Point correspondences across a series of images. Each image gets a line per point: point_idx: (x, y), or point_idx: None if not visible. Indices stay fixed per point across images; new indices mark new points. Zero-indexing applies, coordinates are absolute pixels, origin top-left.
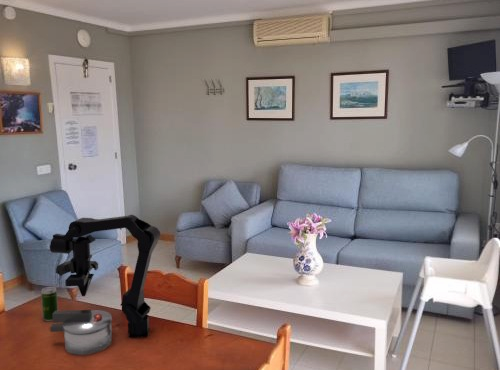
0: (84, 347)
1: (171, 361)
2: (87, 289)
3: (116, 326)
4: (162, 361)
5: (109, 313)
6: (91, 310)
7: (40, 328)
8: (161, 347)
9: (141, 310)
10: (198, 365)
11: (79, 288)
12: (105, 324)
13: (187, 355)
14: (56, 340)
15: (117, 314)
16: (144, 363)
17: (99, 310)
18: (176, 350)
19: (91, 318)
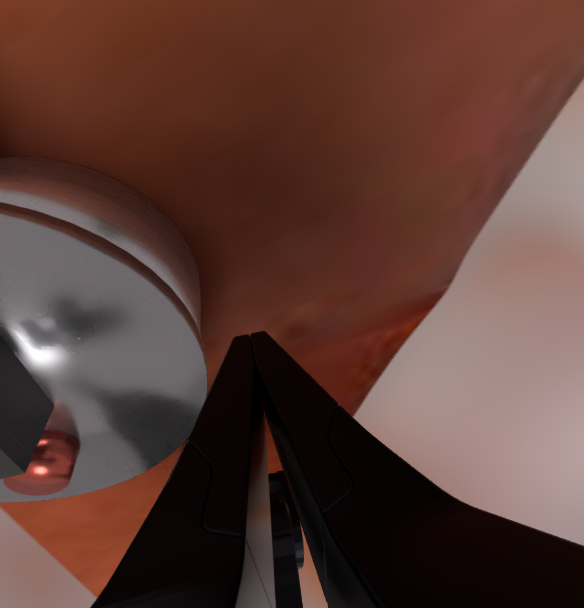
0: None
1: (68, 543)
2: (277, 452)
3: (278, 331)
4: (56, 531)
5: (169, 454)
6: (189, 345)
7: None
8: (141, 501)
9: (277, 494)
10: (76, 578)
11: (185, 454)
12: (6, 500)
13: (117, 551)
14: (15, 40)
15: (404, 286)
16: (18, 508)
17: (202, 390)
18: (136, 529)
19: (47, 407)
